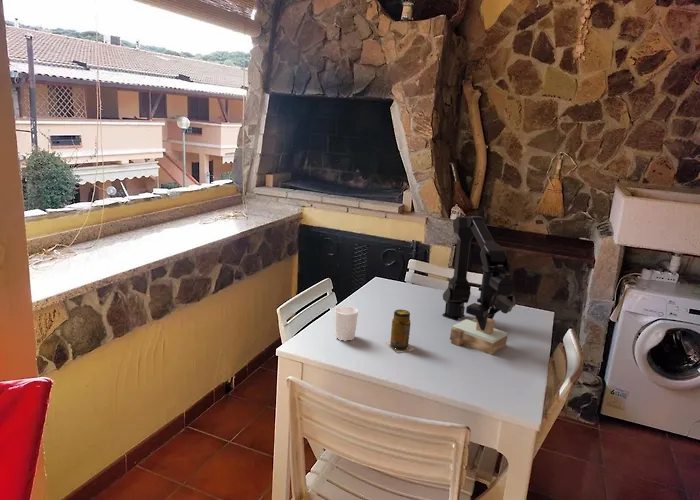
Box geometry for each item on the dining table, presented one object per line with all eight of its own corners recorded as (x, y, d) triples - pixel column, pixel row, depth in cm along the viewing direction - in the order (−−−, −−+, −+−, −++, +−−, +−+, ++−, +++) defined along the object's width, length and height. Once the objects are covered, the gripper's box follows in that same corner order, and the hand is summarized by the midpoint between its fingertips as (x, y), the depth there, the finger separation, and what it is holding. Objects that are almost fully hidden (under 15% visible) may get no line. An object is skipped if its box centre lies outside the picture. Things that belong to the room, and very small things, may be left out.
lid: (451, 328, 179) (453, 313, 178) (466, 321, 186) (467, 307, 185) (492, 343, 169) (495, 327, 168) (506, 335, 176) (508, 320, 175)
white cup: (359, 335, 179) (361, 308, 177) (350, 344, 172) (352, 316, 170) (339, 330, 182) (341, 304, 180) (329, 338, 175) (330, 311, 173)
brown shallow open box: (445, 341, 179) (447, 327, 177) (468, 329, 189) (469, 316, 188) (487, 357, 168) (489, 342, 167) (509, 344, 179) (510, 330, 178)
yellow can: (402, 339, 178) (405, 307, 175) (416, 350, 171) (419, 316, 168) (384, 342, 175) (387, 309, 172) (397, 353, 167) (400, 318, 164)
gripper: (499, 298, 160) (493, 344, 164) (525, 286, 174) (519, 329, 178) (467, 288, 167) (462, 333, 171) (495, 277, 181) (489, 319, 185)
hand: (484, 328), depth 176 cm, fingers closed on lid, 3 cm apart
